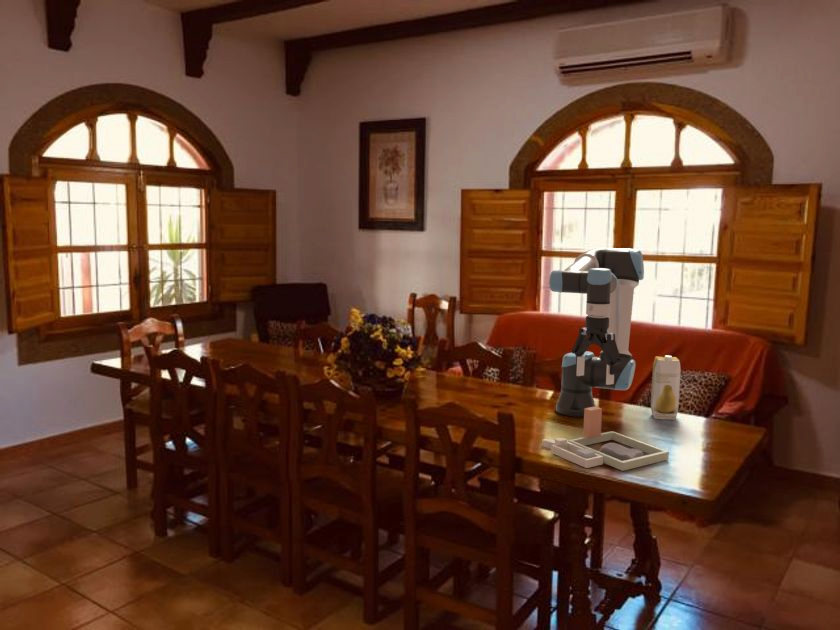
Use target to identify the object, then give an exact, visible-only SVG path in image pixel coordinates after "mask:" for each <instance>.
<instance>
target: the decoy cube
mask: <svg viewBox="0 0 840 630" xmlns="http://www.w3.org/2000/svg"><path fill="white" fill-rule="evenodd" d="M576 455H579V456H581V457H583V458H586V459H588V458H592V457H595V452H594V451H592V450H589V449H587V448H585V449H580V450H577V453H576Z"/></svg>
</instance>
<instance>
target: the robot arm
mask: <svg viewBox="0 0 840 630" xmlns="http://www.w3.org/2000/svg"><path fill="white" fill-rule="evenodd" d="M644 276H645V267H644V258H643V253H642V250H640V249H638V248H630V247H628V248H624V247H623V248H621V247H620V248H616V247H615V248H614V247H599V248H593V249H589V250H587V251H584V252H582V253H581V254H579V255H578V256H577V257H576V258H575V259H574V262H573V263H572V264H570V265H569V266H567V267H566V268H565V269H563V270H561V269H556V270H554V269H553V270H552V271H551V272H550V275H549V282H548V285H549V289H550V291H551V292H553V293H559V294H560V293H566V294H567V293H568V294H584V295H585V294H586V305H585V306H586V307H585V314H586V316H585V323H584V324H585V325H584V326H585V327H580V328H579V329H578V330H579V331H578V335H577V338H576V339H575V343H574V345H573V347H572V349H571V352H567V353H565V354H564V355H563V356H562V362H561V363H562V364H561V388H560V393H559V397H558V399H557V400H558V401H557V402H556V404H555V411H556V413H558V414H560V415H563V416H568V417H575V418H576V417H577V418H578V417H582V418H584V408H590V407H595V406H596V404H595V403H596V402H595V399H594V396H593V388H598V389H607V390H614V391H617V390H618V391H627V390H628V389H630V388H631V386H632V383H633V379H634V376H635V370H636V360H635V359H632V358H633V354H632V353H630V351H629V344H630V335H631V324H632V323H631V322H632V315H633V305H634V293H635V292H634V291H635V289H636V287H638V286H639V285H640V281H642V280H644V279H645V277H644ZM591 345H595V346H599V347H598V348H600V349H601V351H600V352H599V356H595V353H594V352H592V351H589V350H588V349H589V348H590V346H591ZM587 350H588V351H587Z"/></svg>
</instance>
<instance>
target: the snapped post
mask: <svg viewBox="0 0 840 630" xmlns="http://www.w3.org/2000/svg"><path fill="white" fill-rule="evenodd" d="M541 440H542V441H541V442H542V443H541V446H542V447H543V448H547V449H551V448H552V445H554V444H555V439H552V438H543V439H541Z"/></svg>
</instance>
